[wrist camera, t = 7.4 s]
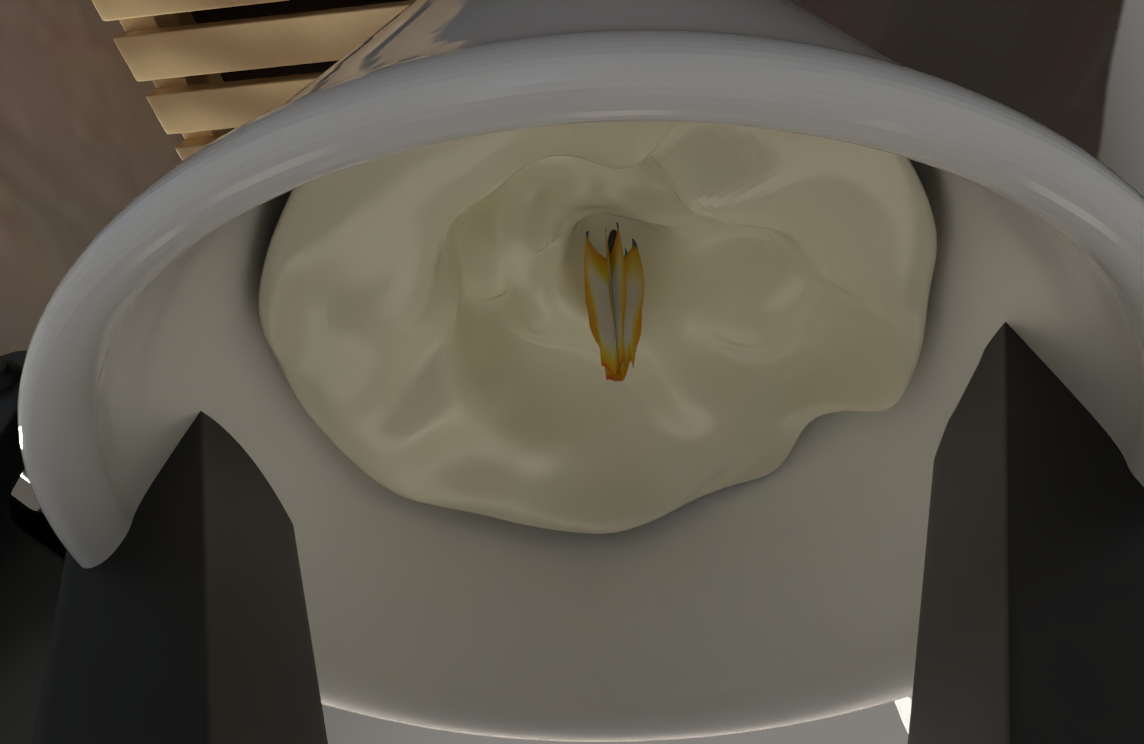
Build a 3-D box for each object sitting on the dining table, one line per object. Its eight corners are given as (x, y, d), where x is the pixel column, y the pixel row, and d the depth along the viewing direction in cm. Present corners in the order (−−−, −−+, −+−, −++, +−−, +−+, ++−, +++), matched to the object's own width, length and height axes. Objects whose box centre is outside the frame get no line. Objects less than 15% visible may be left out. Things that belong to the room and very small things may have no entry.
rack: (91, -120, 25) (-135, -91, 17) (429, -165, 24) (354, -156, 16) (239, 173, 34) (136, 281, 26) (490, 150, 33) (462, 256, 25)
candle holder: (890, 26, 13) (1535, 474, 4) (650, 331, 19) (713, 771, 10) (466, -276, 10) (-346, -892, 1) (343, 205, 16) (66, 679, 7)
